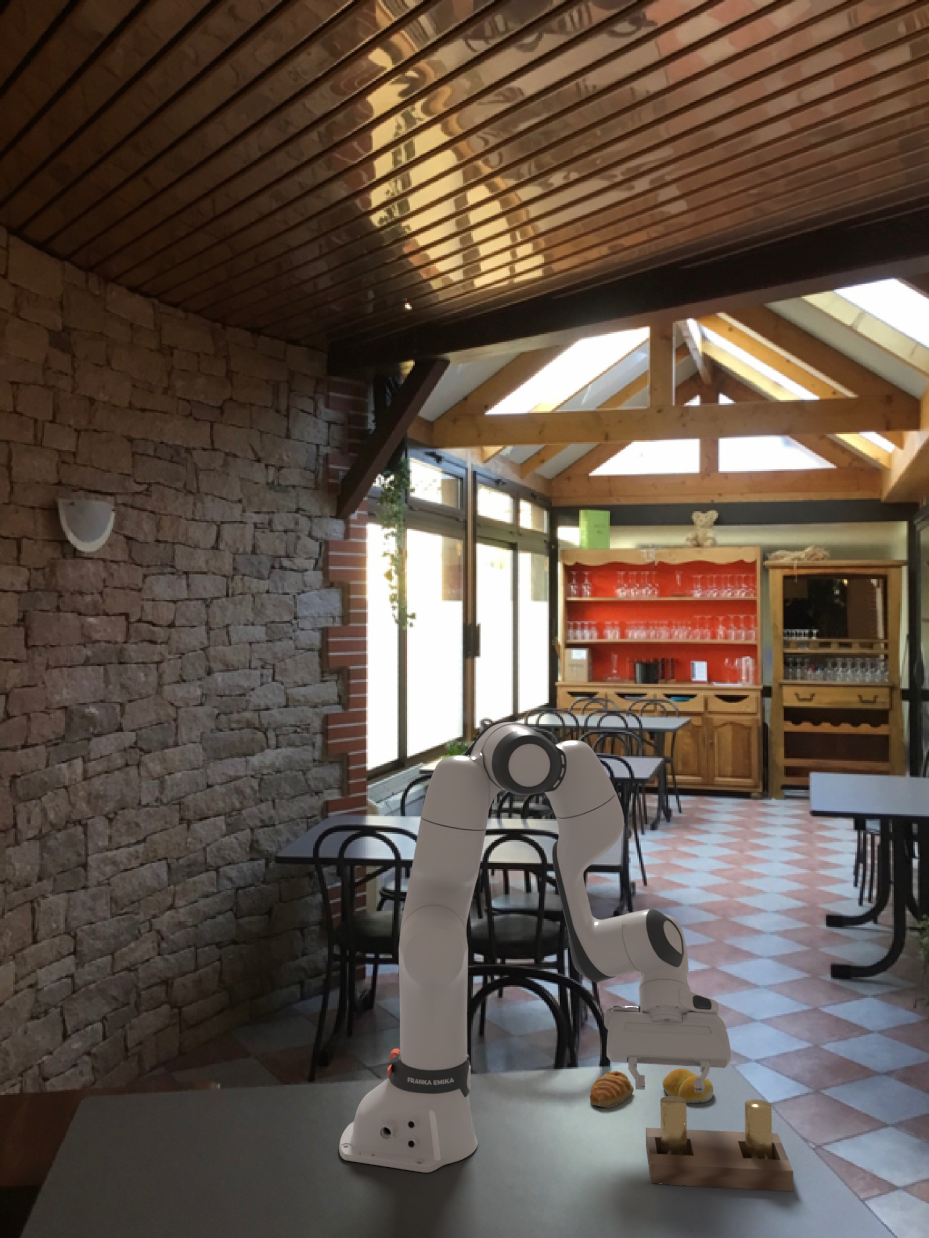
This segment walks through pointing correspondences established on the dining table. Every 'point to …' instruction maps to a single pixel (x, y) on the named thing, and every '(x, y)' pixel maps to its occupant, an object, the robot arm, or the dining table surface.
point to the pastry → (611, 1089)
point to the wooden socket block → (718, 1162)
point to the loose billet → (673, 1125)
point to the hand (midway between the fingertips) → (670, 1089)
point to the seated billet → (758, 1129)
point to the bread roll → (686, 1086)
